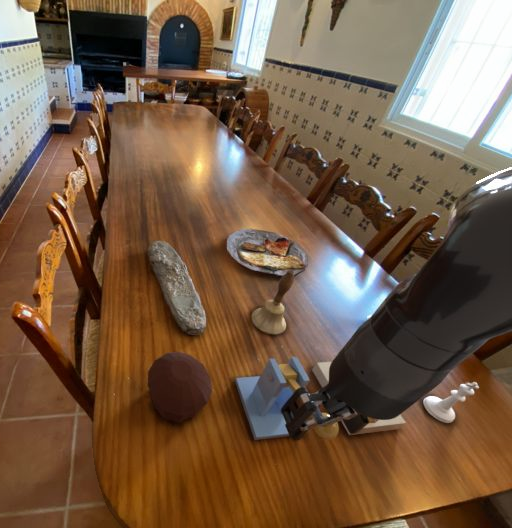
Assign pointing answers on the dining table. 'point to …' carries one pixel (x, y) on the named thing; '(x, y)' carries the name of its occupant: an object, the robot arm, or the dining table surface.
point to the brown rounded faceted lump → (178, 386)
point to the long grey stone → (177, 288)
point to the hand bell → (274, 309)
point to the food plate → (266, 252)
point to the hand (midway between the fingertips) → (320, 429)
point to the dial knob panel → (381, 425)
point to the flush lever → (321, 431)
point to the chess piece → (448, 402)
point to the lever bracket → (268, 398)
